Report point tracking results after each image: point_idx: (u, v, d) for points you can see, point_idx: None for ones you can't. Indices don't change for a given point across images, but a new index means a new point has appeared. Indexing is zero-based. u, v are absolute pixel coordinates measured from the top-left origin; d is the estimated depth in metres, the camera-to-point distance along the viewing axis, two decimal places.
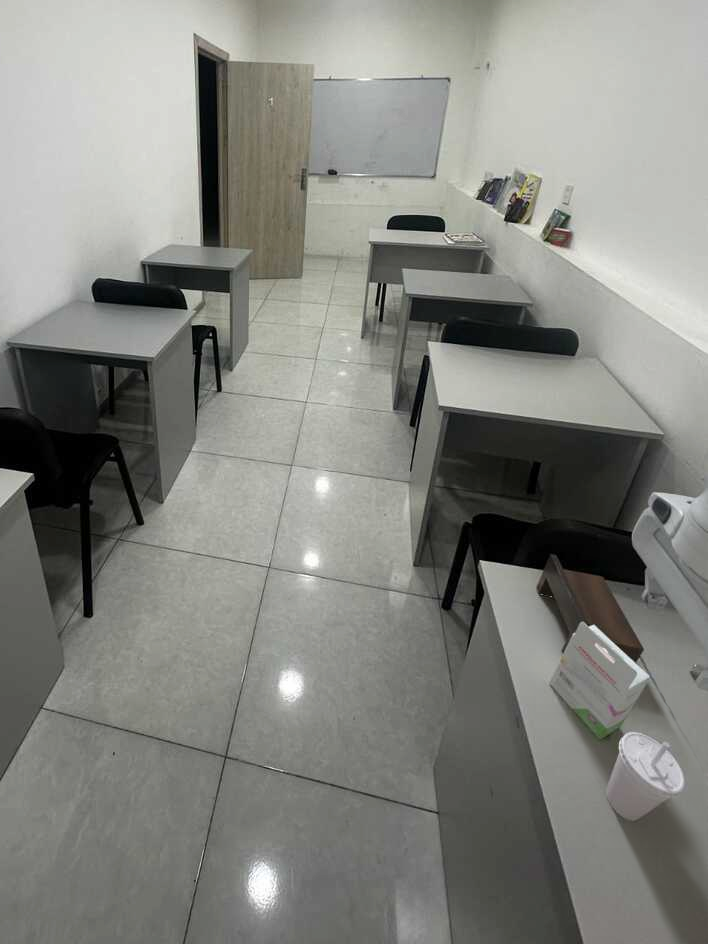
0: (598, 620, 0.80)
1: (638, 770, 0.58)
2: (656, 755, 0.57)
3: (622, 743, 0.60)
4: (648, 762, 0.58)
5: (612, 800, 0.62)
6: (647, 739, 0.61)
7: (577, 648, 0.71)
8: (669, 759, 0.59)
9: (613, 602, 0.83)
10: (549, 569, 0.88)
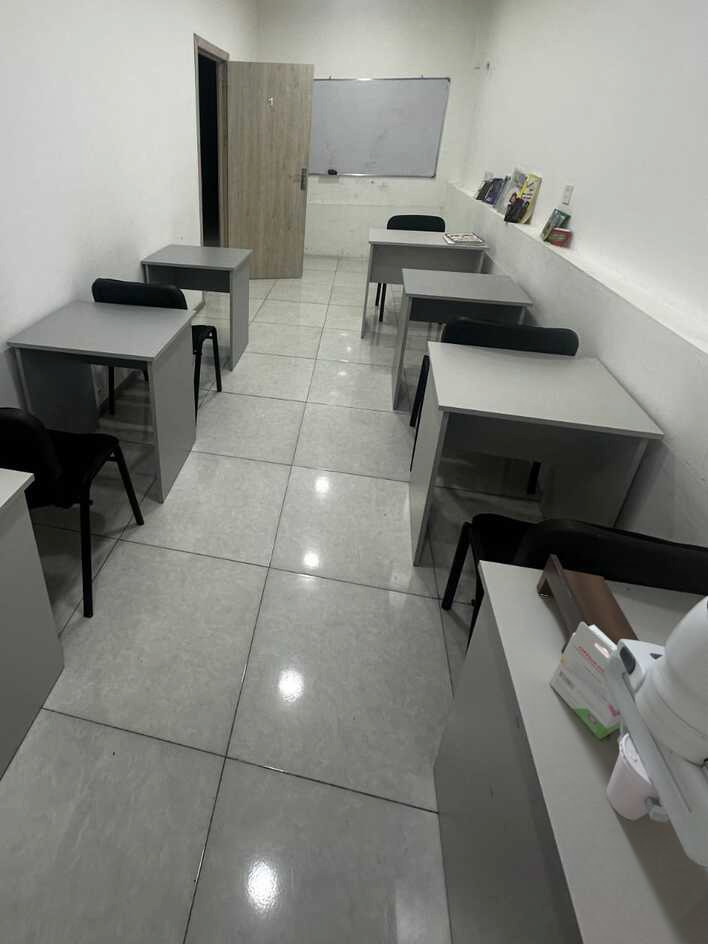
0: (598, 620, 0.80)
1: (639, 770, 0.58)
2: None
3: (623, 743, 0.60)
4: None
5: (612, 799, 0.62)
6: None
7: (577, 648, 0.71)
8: None
9: (613, 602, 0.83)
10: (549, 569, 0.88)
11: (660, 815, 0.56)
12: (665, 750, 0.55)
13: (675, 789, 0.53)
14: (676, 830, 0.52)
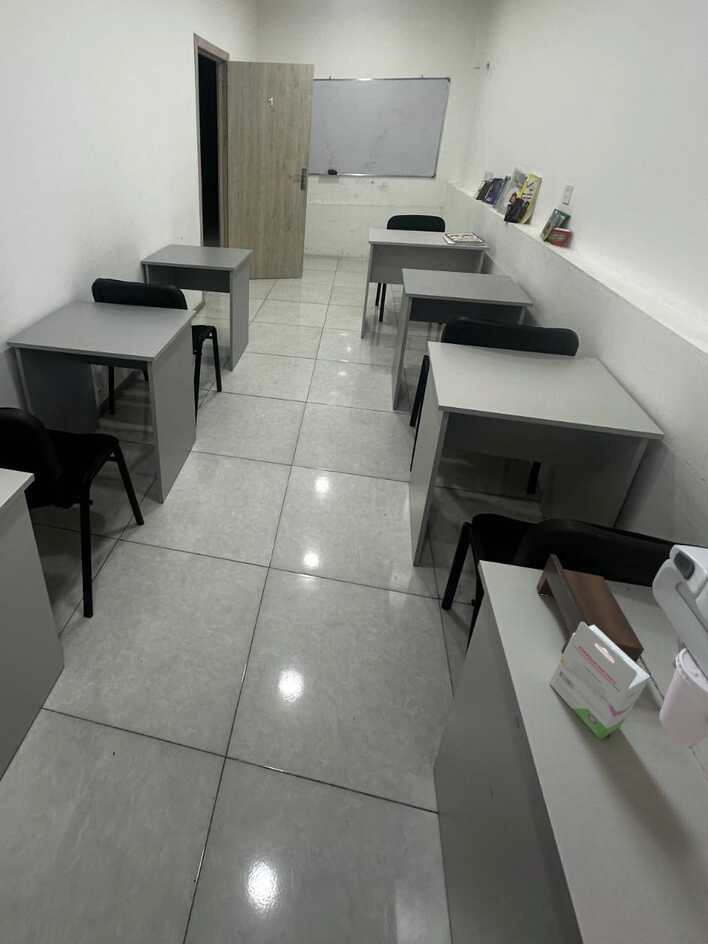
0: (598, 620, 0.80)
1: (701, 684, 0.51)
2: None
3: (680, 658, 0.53)
4: None
5: (667, 723, 0.55)
6: None
7: (577, 648, 0.71)
8: None
9: (613, 602, 0.83)
10: (549, 569, 0.88)
11: None
12: None
13: None
14: None
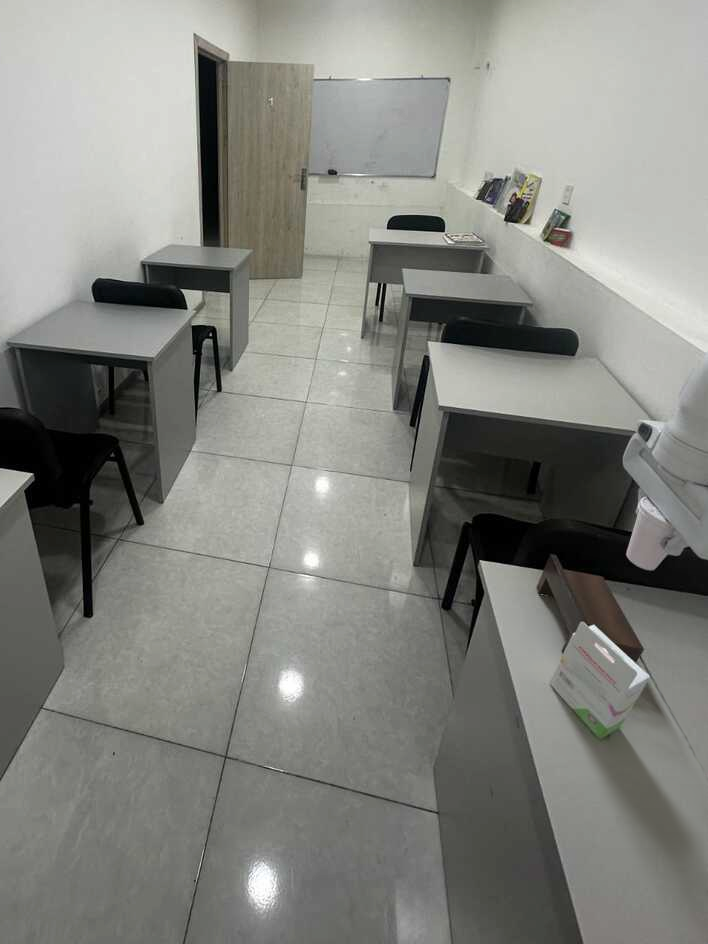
0: (598, 620, 0.80)
1: (655, 515, 0.68)
2: None
3: (641, 501, 0.70)
4: None
5: (632, 555, 0.72)
6: None
7: (577, 648, 0.71)
8: None
9: (613, 602, 0.83)
10: (549, 569, 0.88)
11: (674, 548, 0.66)
12: (678, 488, 0.65)
13: (688, 511, 0.63)
14: (689, 542, 0.62)
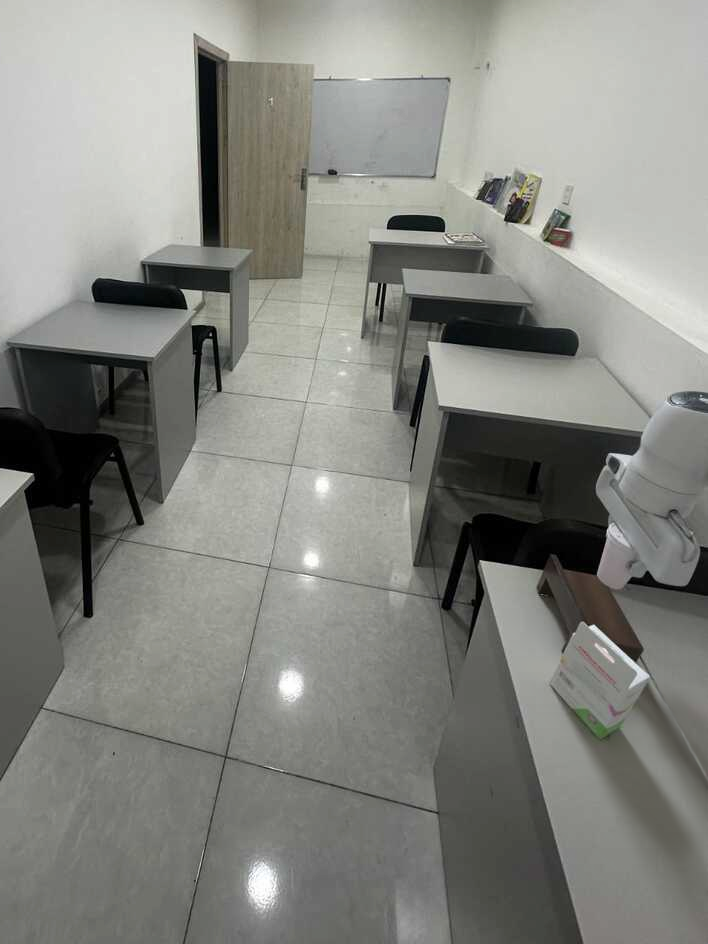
0: (598, 620, 0.80)
1: (621, 541, 0.75)
2: None
3: (609, 527, 0.78)
4: None
5: (601, 576, 0.80)
6: None
7: (577, 648, 0.71)
8: None
9: (613, 602, 0.83)
10: (549, 569, 0.88)
11: (637, 571, 0.74)
12: (641, 518, 0.73)
13: (648, 539, 0.70)
14: (648, 567, 0.70)
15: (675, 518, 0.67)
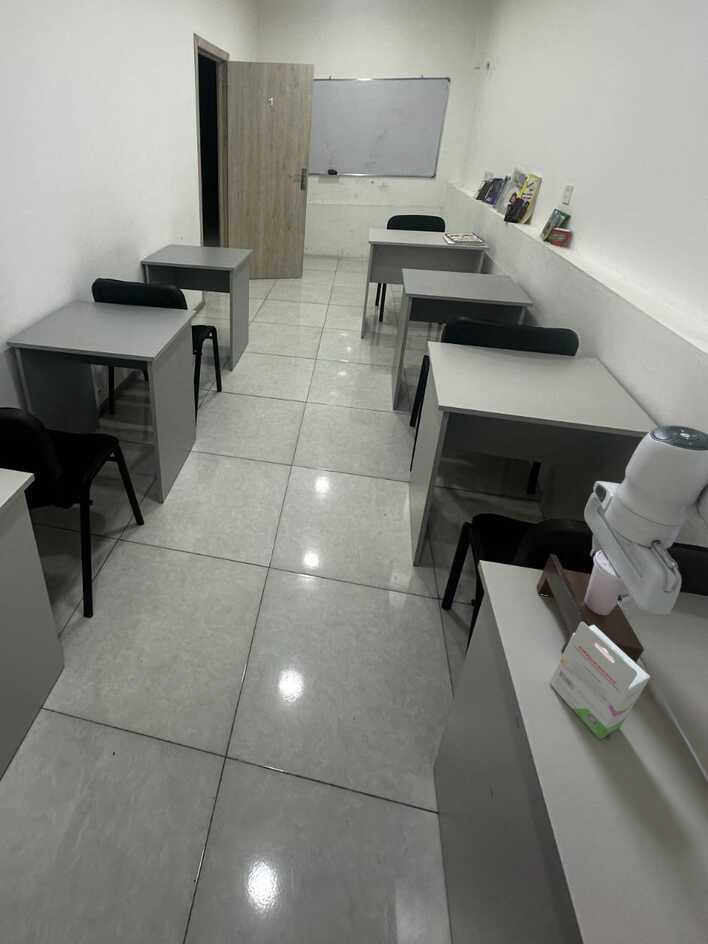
0: (598, 620, 0.80)
1: (607, 569, 0.78)
2: None
3: (596, 555, 0.80)
4: None
5: (589, 601, 0.82)
6: None
7: (577, 648, 0.71)
8: None
9: None
10: (549, 569, 0.88)
11: (627, 605, 0.75)
12: (626, 546, 0.75)
13: (632, 568, 0.73)
14: (632, 595, 0.72)
15: (658, 549, 0.70)
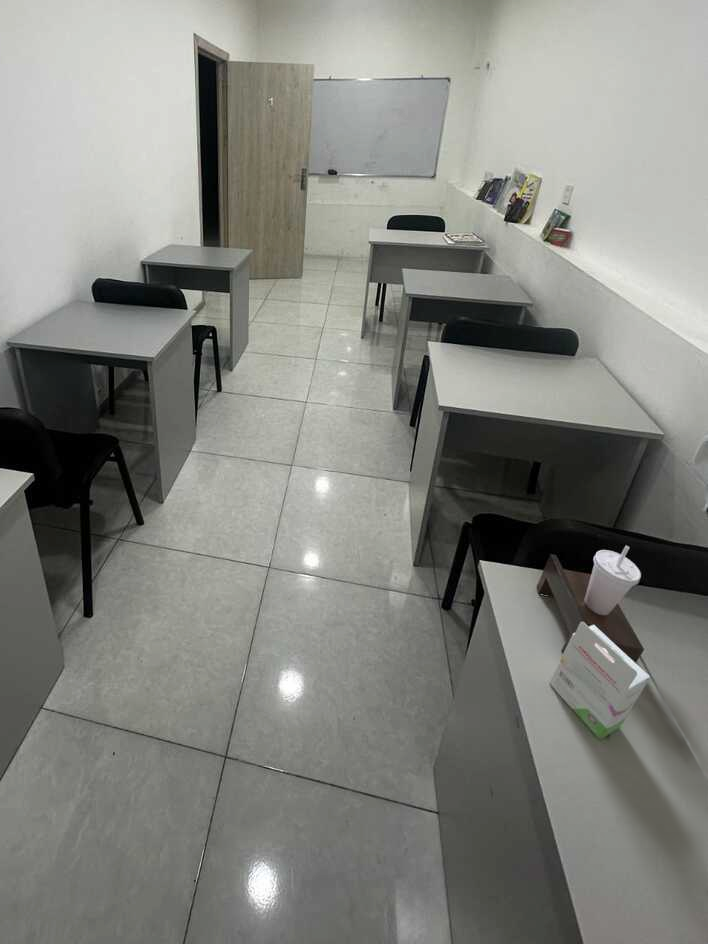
0: (598, 620, 0.80)
1: (607, 569, 0.78)
2: (620, 557, 0.78)
3: (596, 555, 0.80)
4: (614, 565, 0.78)
5: (589, 601, 0.82)
6: (615, 554, 0.81)
7: (577, 648, 0.71)
8: (630, 564, 0.79)
9: None
10: (549, 569, 0.88)
11: None
12: None
13: None
14: None
15: None
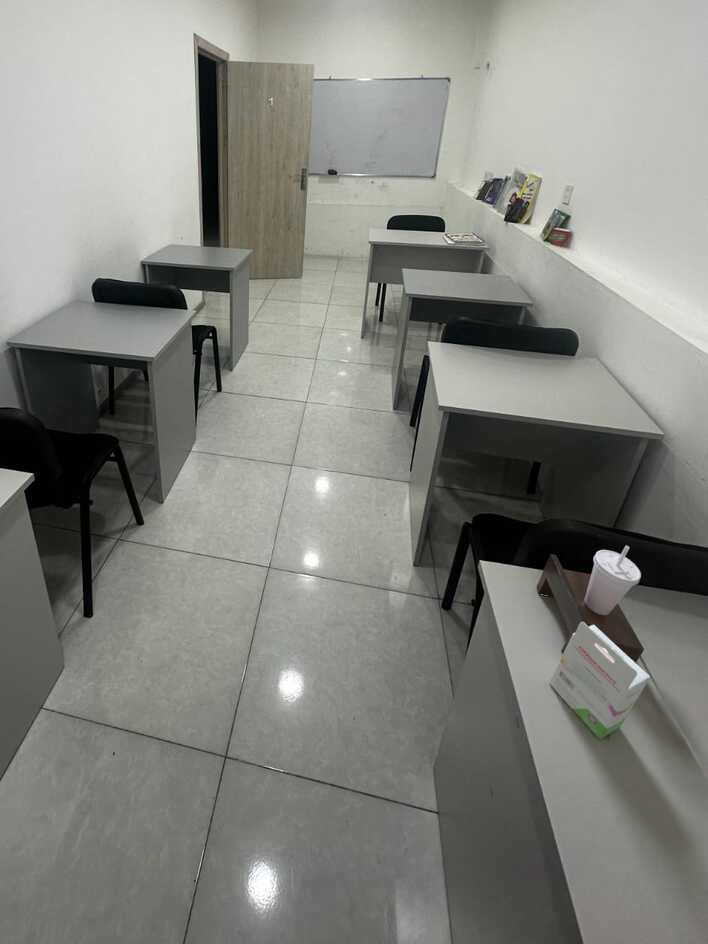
0: (598, 620, 0.80)
1: (607, 569, 0.78)
2: (620, 557, 0.78)
3: (596, 555, 0.80)
4: (614, 565, 0.78)
5: (589, 601, 0.82)
6: (615, 554, 0.81)
7: (577, 648, 0.71)
8: (630, 564, 0.79)
9: None
10: (549, 569, 0.88)
11: None
12: None
13: None
14: None
15: None
